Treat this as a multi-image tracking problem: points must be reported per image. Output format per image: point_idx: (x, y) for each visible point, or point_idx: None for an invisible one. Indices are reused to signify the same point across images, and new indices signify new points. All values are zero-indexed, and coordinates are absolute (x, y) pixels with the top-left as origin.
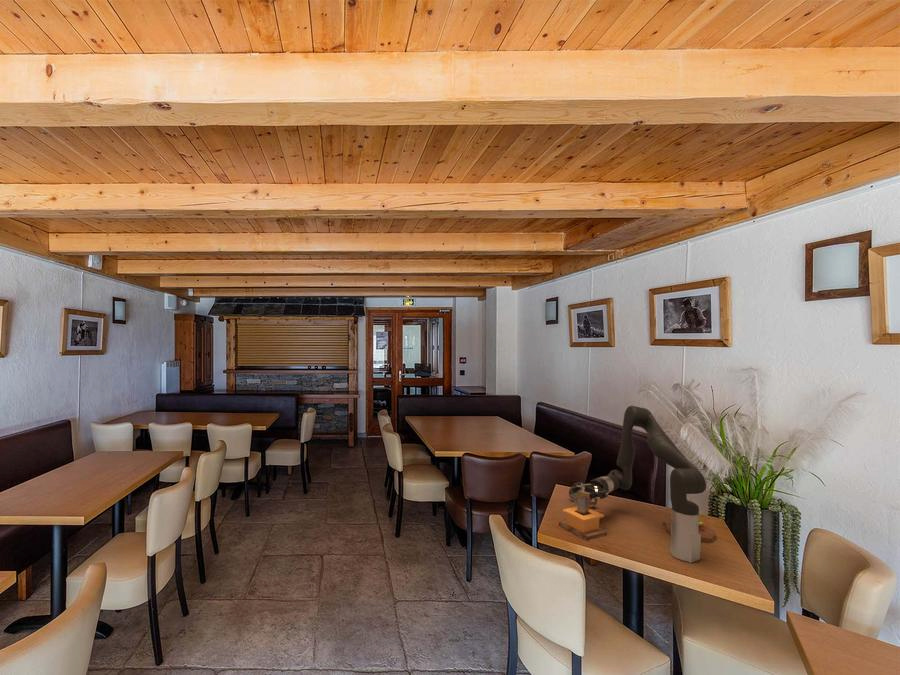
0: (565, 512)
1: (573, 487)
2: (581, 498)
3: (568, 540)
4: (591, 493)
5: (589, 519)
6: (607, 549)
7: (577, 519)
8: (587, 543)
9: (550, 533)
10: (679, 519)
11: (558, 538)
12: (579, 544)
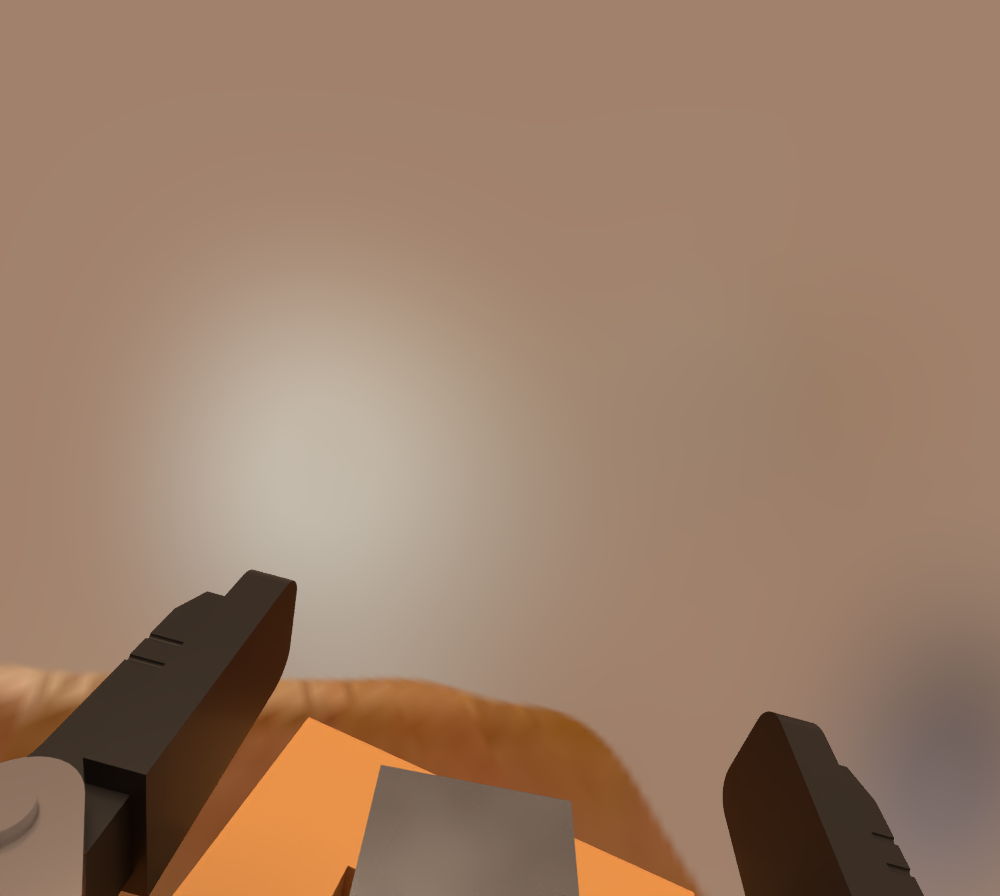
0: (626, 877)
1: (821, 750)
2: (496, 834)
3: (403, 727)
4: (243, 586)
5: (234, 821)
6: None
7: None
8: (230, 770)
9: (576, 759)
10: None
11: (482, 714)
12: (300, 711)
